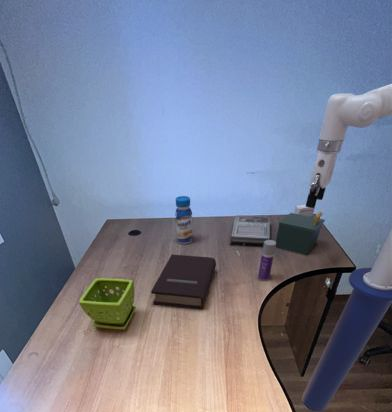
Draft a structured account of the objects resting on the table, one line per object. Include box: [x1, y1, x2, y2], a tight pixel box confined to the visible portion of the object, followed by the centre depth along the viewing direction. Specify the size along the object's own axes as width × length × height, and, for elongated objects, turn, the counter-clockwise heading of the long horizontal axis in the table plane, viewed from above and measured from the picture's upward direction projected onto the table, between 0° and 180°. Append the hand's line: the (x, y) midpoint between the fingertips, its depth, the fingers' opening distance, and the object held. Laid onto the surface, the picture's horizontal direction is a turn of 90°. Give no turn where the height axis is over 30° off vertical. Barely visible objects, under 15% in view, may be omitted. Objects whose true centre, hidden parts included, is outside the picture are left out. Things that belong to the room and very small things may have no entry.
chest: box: [275, 223, 322, 256], centre depth 126 cm, size 16×14×11 cm
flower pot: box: [78, 277, 137, 331], centre depth 89 cm, size 14×14×13 cm
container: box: [257, 239, 277, 281], centre depth 105 cm, size 5×5×15 cm
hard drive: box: [230, 214, 271, 248], centre depth 138 cm, size 18×27×4 cm
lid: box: [278, 211, 326, 232], centre depth 120 cm, size 16×14×5 cm
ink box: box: [293, 204, 316, 217], centre depth 138 cm, size 8×5×12 cm, turn 105°
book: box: [150, 254, 217, 310], centre depth 105 cm, size 28×20×6 cm
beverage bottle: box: [174, 195, 194, 245], centre depth 129 cm, size 8×8×20 cm
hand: (314, 203), depth 99 cm, fingers open, 9 cm apart
